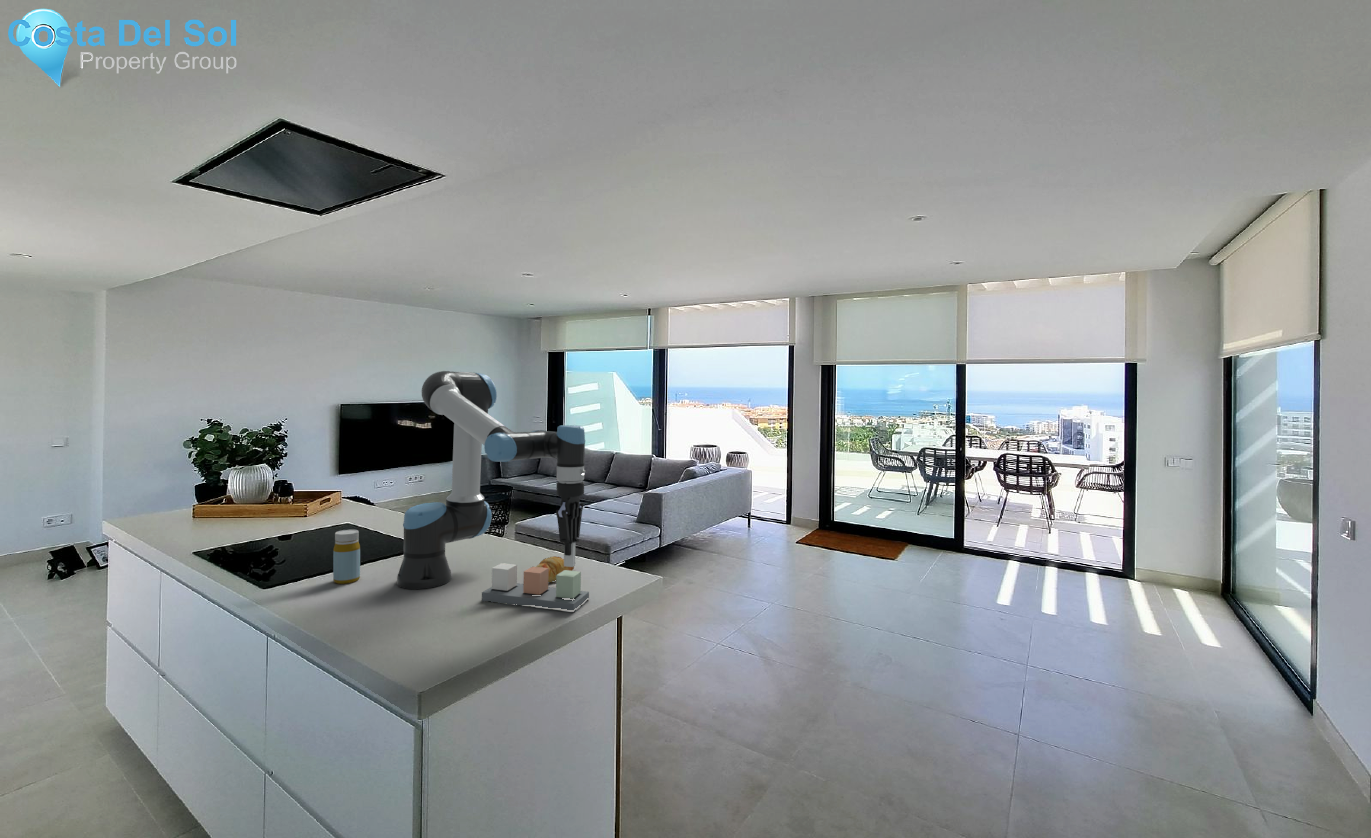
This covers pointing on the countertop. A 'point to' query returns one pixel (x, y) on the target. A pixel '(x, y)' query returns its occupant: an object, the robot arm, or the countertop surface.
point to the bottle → (346, 557)
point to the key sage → (568, 584)
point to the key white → (504, 576)
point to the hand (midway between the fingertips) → (569, 565)
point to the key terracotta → (535, 580)
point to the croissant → (554, 567)
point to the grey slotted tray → (533, 598)
